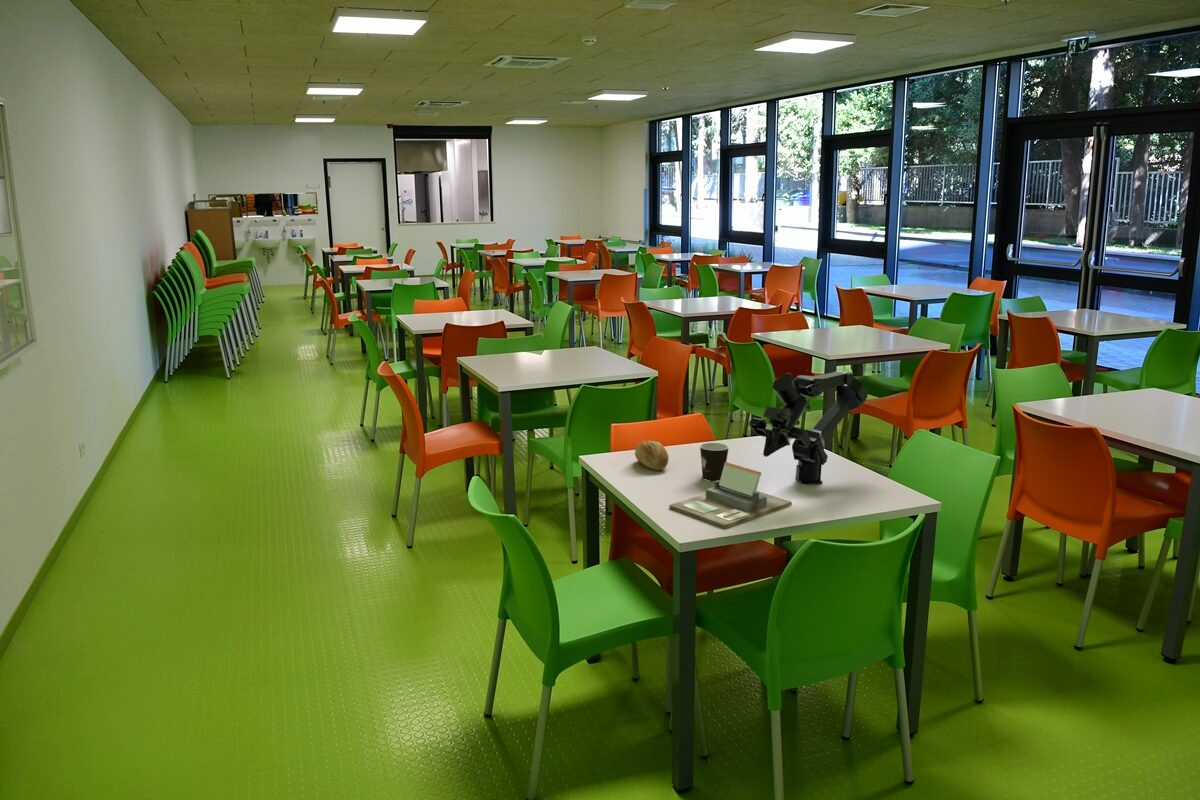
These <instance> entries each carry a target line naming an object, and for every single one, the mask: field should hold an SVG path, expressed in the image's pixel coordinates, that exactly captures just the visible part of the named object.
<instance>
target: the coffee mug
mask: <svg viewBox="0 0 1200 800" xmlns="http://www.w3.org/2000/svg"><path fill="white" fill-rule="evenodd" d="M699 449H700V450H699V451H700V460H701V461H700V462H701V472H702V473H701V474H702V479H703V478H704V479H703V480H705V479H706V480H705V481H707V480H710V481H709V482H715V481H718V480H719V481H720V479H721V475H722V472H723V468H724V464H725V462H728V454H729V445H727V444H726V443H725V444H724V443H720V442H705V443H701V444H700V445H699Z"/></svg>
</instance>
